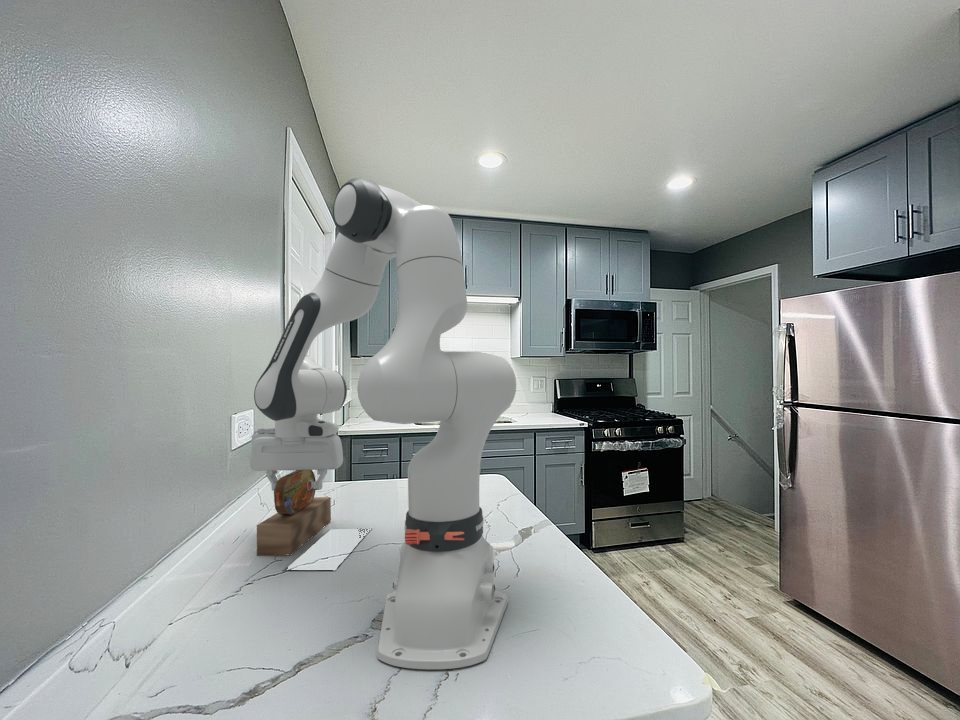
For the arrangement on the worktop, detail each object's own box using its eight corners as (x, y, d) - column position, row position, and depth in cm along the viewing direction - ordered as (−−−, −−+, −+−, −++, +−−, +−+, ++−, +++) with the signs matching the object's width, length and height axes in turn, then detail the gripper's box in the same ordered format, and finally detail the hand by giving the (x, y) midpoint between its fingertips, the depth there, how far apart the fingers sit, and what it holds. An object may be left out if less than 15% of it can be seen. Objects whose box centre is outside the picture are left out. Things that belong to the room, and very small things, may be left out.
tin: (285, 520, 91) (285, 479, 91) (270, 520, 91) (270, 479, 91) (317, 499, 106) (316, 464, 106) (304, 499, 106) (304, 464, 106)
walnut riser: (290, 555, 87) (290, 525, 88) (256, 555, 88) (256, 525, 88) (330, 521, 107) (330, 497, 108) (303, 521, 108) (303, 497, 108)
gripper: (243, 430, 96) (243, 494, 95) (334, 428, 95) (335, 492, 94) (259, 427, 102) (260, 487, 102) (345, 425, 101) (346, 485, 100)
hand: (297, 489), depth 98 cm, fingers open, 8 cm apart
